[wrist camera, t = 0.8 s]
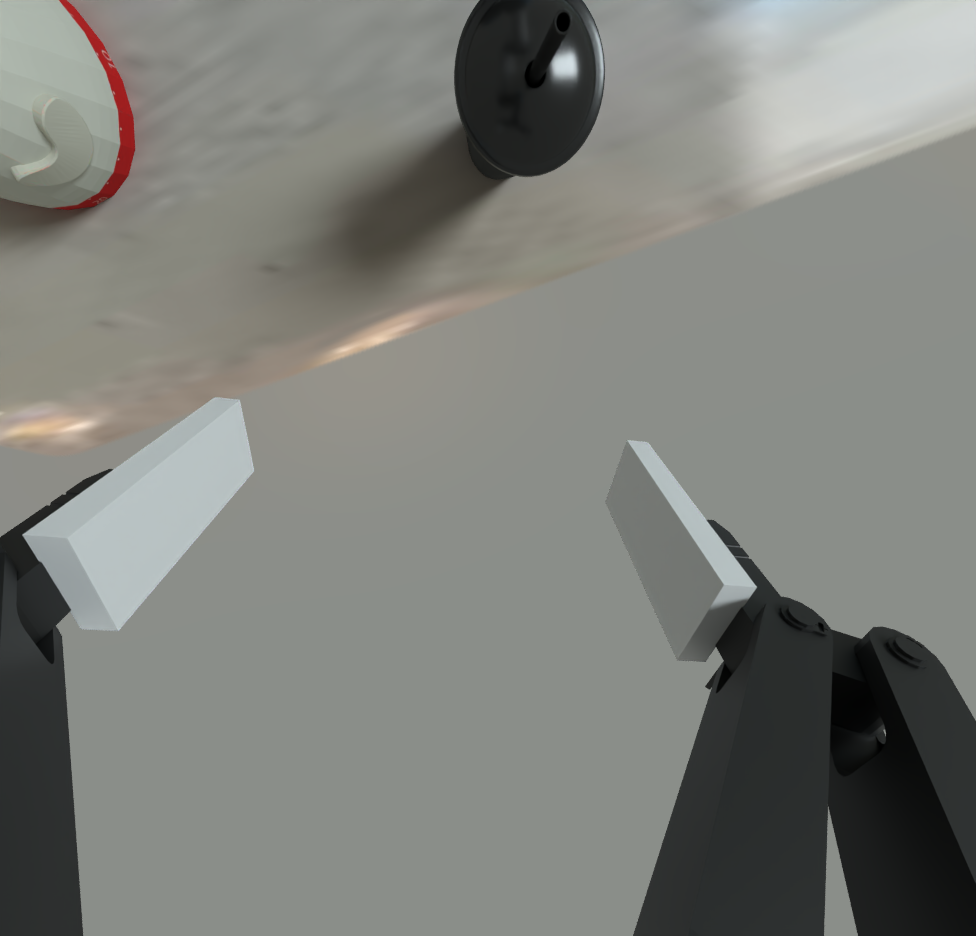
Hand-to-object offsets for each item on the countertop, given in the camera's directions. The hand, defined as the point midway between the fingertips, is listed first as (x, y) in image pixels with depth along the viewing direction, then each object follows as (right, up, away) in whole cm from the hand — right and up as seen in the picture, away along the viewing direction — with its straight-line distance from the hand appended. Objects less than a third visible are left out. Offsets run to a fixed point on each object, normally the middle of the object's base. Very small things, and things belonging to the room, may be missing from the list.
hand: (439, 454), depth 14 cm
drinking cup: (+3, +25, +18) cm, 31 cm away
